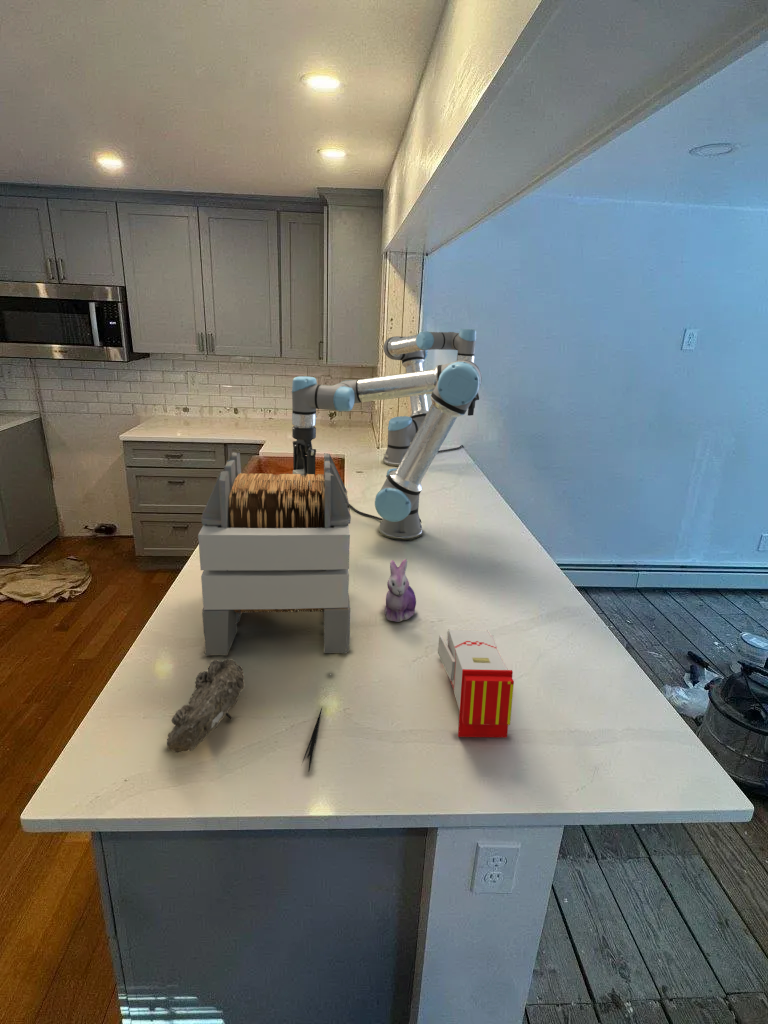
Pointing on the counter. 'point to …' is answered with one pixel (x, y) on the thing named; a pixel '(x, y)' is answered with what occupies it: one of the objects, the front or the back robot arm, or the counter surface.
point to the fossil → (206, 705)
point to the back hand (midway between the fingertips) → (460, 412)
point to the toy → (478, 682)
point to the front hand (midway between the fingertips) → (304, 494)
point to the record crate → (275, 551)
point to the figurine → (399, 594)
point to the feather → (313, 740)
